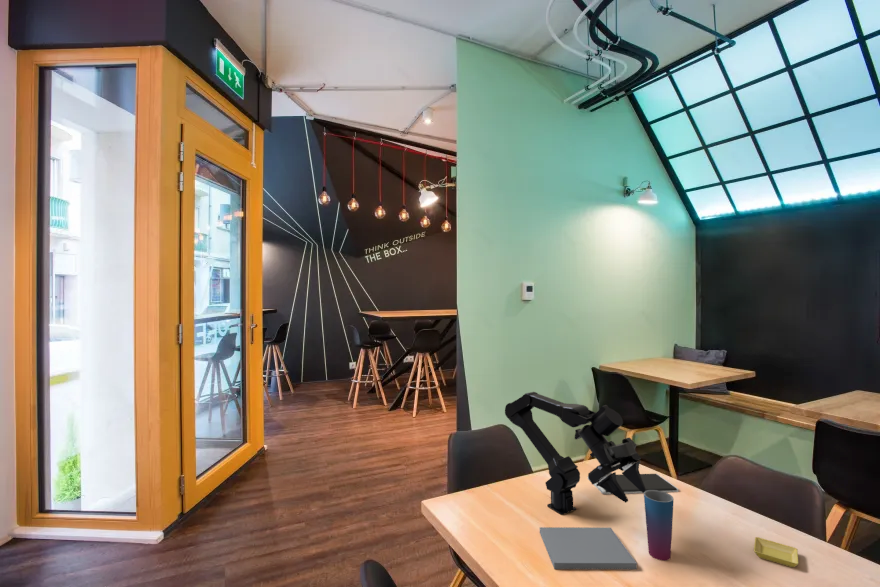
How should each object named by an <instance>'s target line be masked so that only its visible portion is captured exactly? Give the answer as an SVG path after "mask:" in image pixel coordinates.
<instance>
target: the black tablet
mask: <svg viewBox="0 0 880 587" xmlns="http://www.w3.org/2000/svg"><path fill="white" fill-rule="evenodd" d="M640 476H641V478H642V481H643V483H644V486H645V489H646V491H647V490H658V491H663V492H666V493H678V492H679V491H680V489H679V488H678V487H677V486H676V485H675V484H672V483H671V482H670V481H669V480H667V479H665V478H664V477H663V476H661V475H660V474H658V473H640ZM587 480H588V481H589V482H590V480H589V479H588V478H587ZM616 480H617V482H618V484H619V485H620V487H621V488H622V490H623V492H624V493H625V495H629V494H644V493H643V492H641V491H640V490H639V489H638V488H637V487H636V486H635V485H634V484H633V483H632V482H630V481H629V480H628V479H627V478H626V477H625V476H624V475H623V474H616ZM598 483H599V482H598ZM598 483H595V484H593V486H594V487H595V488H596V489H597V490H598V491H599V492H600V493H601V494H602V495H604V496H605V495H606V496H607V495H613V494H612V493H610V492H608V491H607V490H605V489H603V488H602V487H600V486H597V485H596V484H598Z"/></svg>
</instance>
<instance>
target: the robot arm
mask: <svg viewBox="0 0 880 587" xmlns="http://www.w3.org/2000/svg"><path fill="white" fill-rule="evenodd" d="M533 408H536V409H539V410H541V411H544V412H546V413H549V414H551V415H553V416H556V417H557V418H559V419H560V421H561V422H562V423H564V424H565V425H567V426H569V427H571V428H577V427H580V426H583V427H581V428H577V429H575V432H574V433H575V434H574V440H578V439H582V440H583V442H584V443H585V445H586V446H587V447H588V449H589V451H590V452H591V453H590V454H589V455H590V458H593V459H594V458H595V459H596V461H597V462H598V463H599V465H597V466H596V467H595V468H593V469H592V470H591V471H590V472H588V474H587V475H588V476H587V480H588V479H589V480H590V481H589V480H588V481H589V482H590V483H591V485H593V484H595V483H598V482H599V483H598V484H596V485H597V486H600V487H602V488H603V489H605V490H607V491H608V492H610V493H612V494H611V495H614V497H616V498H617V499H619V500H620V501H622V502H623V503H628V502H629V499H628V497H627V494H625V493H624V492H623V490H622V488H621V487H620V485H619V484H618V482H617V480H616V475H617V472H616V471H618V470H620V471H621V475H624V476H625V477H626V478H627V479H628V480H629V481H630V482H632V483H633V484H634V485H635V486H636V487H637V488H638V489H639V490H640V491H641V492H643V493H642V494H644V492H645V491H646V489H645V486H644V483H643V481H642V478H641V476H640V474H641V473H640V470H639V469H640V464H641V460H642V457H641V456H640V455H639V453H638V452H637V451H636V447H637V444H636V443H635V442H634V440H633V439H632V438H631V437H626V438H623V439H622V441H621V443H618V444H616V443H615V442H614V441H613V440H608V439H607V438H606V437H609V436H611V435H612V434H613V433H614V432H615V431H616V430H618V429H619V428H620V427H621V426H622V425H623V424H624V421H623V420H624V419H623V418H622V416H621V415H620V413H619V412H617V411H615V410H614V409H613V408H610V407H609V406H608V405H607V404H605V405H602V406H601V407H600V408H599V409H598V411H593V410H592V409H589V407H588V406H586V405H584V404H577V403H566V402H565V403H564V402H562V401H560V400H556V399H553V398H551V397H548V396H545V395H542V394H540V393H538V392H536V391H530V392H526V393H524V394H522V396H520V397H519V398H518V399H516V400H513V401H512V402H509V403H506V405H505V407H504V415H505V416H506V418H507V420H509V421H510V422H511V423H512V425H514V426H517V427H519V428H520V429H521V430H522V431H523V433H524V434H525V435H526V437H527V438H528V439H529V441H530V442H531V444H532V445H533V446H534V448H535V449H536V450H537V452H538V453H539V455H540V456H541V457H542V459H543V460H544V462H545V463H546V464H547V467H548V474H549V476H550V478H549V479H548V480H547V481H545V486H546V490H548V491H549V492H550V503H548V504H546V505H547V507H548V508H550V509H551V510H553V511H555V512H556V513H557V514H560V515H561V516H562V515H565V514H568V513H572V512H573V511H574V512H575V511H576V510H577V507H576V506H574V495H573V490H572V489H574V488H576V487H577V484H578V483H580V480H581V476H580V475H581V472H580V470H579V468H578V467H579V466H578V465H577V464H575V462H574V461H573V460H572V458H571V457H570V456H569V455H568V456H566V457H564V456H562V455H560V453H559V452H558V450H557V449H556V448H555V447H554V445H553V443H552V442H551V441H550V440H549V439H548V438H547V436H546V434H544V432H543V431H542V430H541V429H540V427H539V426H538V425H537V423H536V422H535V421H534V418H533V411H532V409H533ZM589 423H590V424H589ZM593 486H594V485H593Z"/></svg>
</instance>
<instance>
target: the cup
mask: <svg viewBox="0 0 880 587" xmlns="http://www.w3.org/2000/svg"><path fill="white" fill-rule="evenodd" d="M643 498H644V500H643V502H644V512H645V513H644V514H645V524H646V534H647V535H646V537H647V546H648V548H647V550H648V554H649V555H650V556H651V557H652V558H654V559H655V560H659V561H670V560H671V556H672V540H673V539H672V538H673V519H674V518H673V516H674V496H673V495H671V494H670V493H669V492H663V491H658V490H647V491H645V492H644V493H643Z"/></svg>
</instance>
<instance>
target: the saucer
mask: <svg viewBox="0 0 880 587" xmlns="http://www.w3.org/2000/svg"><path fill="white" fill-rule="evenodd" d="M753 551H754V553H755V555H756V556H757V557H759V558H760V559H763V560H766V561H769V562H773V563H775V564H776V563H777V564H779V565H783V566H787V567H790V568H795V567H797V566H798V565H799V554H798V552H799V551H798V548H796V547H794V546H790V545H786V544H783V543H780V542H776V541H773V540H768V539H766V538H762V537H757V536H756V537H754V545H753Z"/></svg>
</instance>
